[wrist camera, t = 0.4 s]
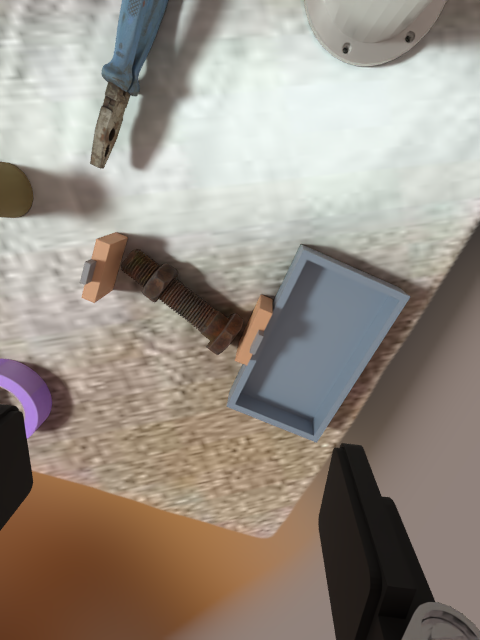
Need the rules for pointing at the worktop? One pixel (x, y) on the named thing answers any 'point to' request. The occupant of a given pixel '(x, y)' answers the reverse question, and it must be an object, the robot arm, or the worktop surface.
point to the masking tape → (26, 392)
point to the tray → (315, 343)
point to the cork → (14, 191)
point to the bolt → (182, 300)
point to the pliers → (125, 70)
